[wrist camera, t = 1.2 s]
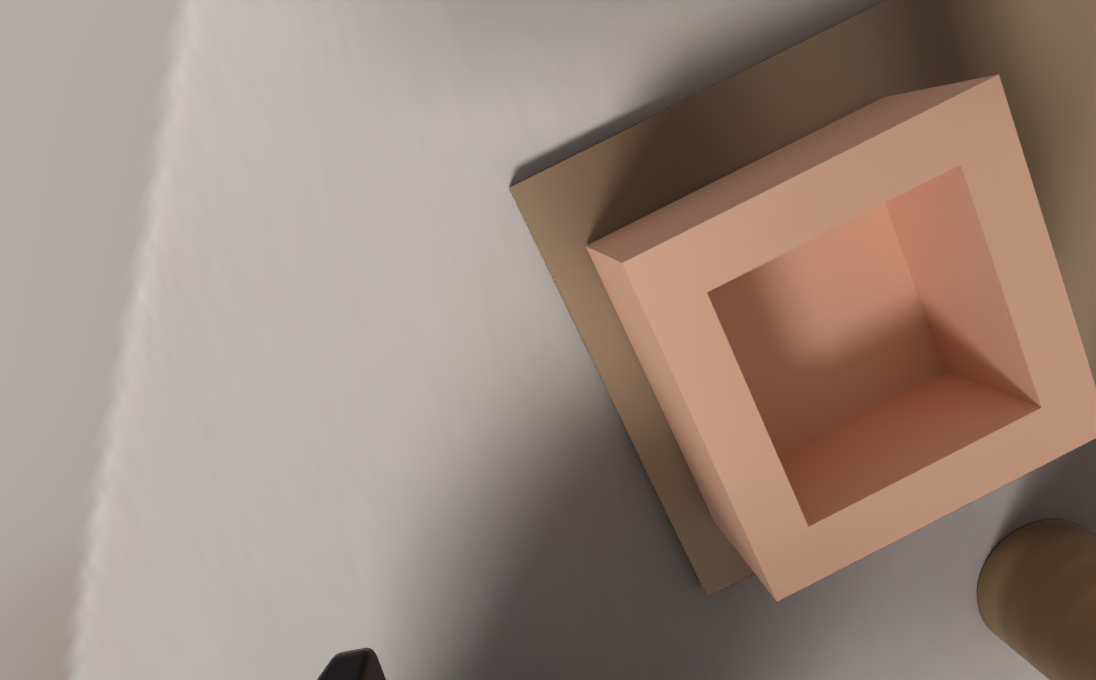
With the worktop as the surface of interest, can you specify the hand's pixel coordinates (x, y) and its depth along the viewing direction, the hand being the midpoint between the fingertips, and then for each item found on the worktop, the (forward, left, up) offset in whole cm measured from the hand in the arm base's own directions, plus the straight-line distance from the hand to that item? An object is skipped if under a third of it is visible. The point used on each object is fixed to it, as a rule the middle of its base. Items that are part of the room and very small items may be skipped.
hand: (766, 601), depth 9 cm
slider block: (+5, -1, -10) cm, 12 cm away
